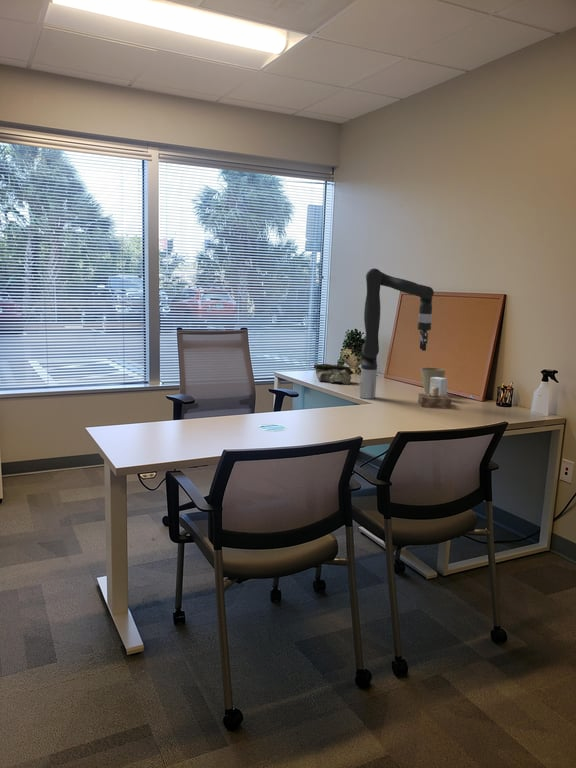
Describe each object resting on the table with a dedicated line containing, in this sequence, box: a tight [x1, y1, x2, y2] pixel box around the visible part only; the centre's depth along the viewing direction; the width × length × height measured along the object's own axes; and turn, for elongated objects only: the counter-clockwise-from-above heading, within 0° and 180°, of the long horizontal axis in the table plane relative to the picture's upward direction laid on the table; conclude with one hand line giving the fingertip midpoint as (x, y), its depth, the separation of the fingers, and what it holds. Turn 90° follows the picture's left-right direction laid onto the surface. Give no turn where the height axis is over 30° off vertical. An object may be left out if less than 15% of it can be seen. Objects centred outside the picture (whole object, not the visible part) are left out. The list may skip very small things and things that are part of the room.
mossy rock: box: [313, 363, 355, 385], centre depth 391 cm, size 28×13×15 cm
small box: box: [429, 377, 448, 396], centre depth 344 cm, size 8×6×13 cm
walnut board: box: [417, 393, 452, 409], centre depth 327 cm, size 16×14×5 cm
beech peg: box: [431, 387, 439, 397], centre depth 327 cm, size 4×4×10 cm
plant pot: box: [420, 366, 446, 394], centre depth 360 cm, size 15×15×16 cm
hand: (422, 349), depth 334 cm, fingers open, 8 cm apart
